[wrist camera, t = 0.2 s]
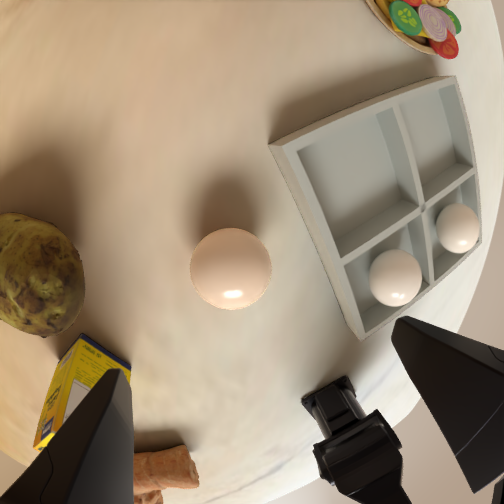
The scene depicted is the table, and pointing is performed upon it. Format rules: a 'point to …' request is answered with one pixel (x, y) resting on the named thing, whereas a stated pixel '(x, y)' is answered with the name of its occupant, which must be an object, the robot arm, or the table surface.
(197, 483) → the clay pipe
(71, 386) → the supplement box
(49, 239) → the potato
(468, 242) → the egg
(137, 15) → the table surface
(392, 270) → the egg
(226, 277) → the brown egg
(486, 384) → the robot arm
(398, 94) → the crate
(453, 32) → the toy food set
